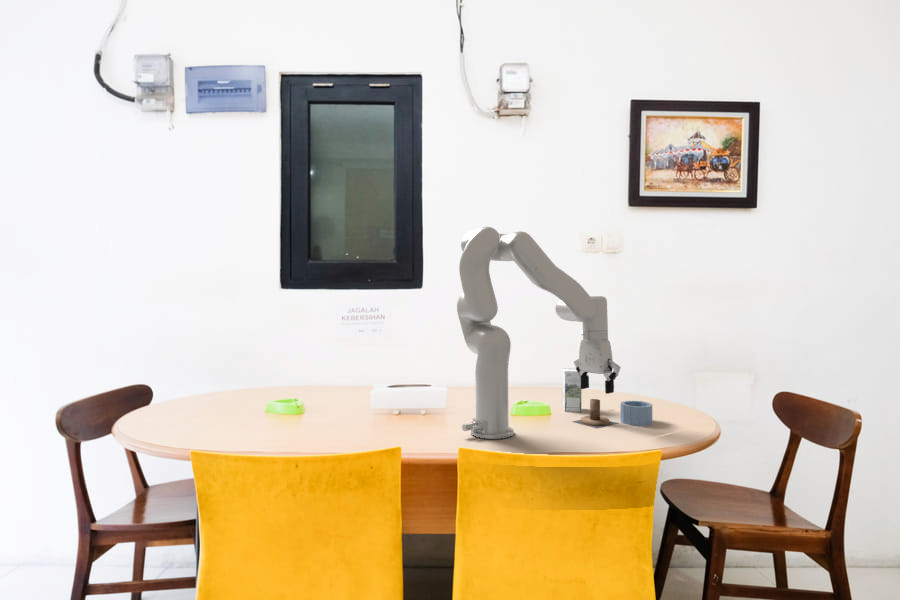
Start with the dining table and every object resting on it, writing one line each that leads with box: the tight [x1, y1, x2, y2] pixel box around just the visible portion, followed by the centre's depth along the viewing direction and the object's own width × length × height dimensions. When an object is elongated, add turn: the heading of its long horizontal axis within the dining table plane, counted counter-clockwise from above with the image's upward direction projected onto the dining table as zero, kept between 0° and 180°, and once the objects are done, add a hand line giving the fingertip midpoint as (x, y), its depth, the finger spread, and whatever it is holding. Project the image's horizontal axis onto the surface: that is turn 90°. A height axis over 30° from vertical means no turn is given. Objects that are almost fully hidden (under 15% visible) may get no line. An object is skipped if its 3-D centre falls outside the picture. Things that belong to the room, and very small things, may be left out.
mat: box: [571, 419, 619, 429], centre depth 165 cm, size 10×10×1 cm
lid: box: [580, 398, 611, 426], centre depth 165 cm, size 9×9×7 cm
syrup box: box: [562, 367, 582, 413], centre depth 182 cm, size 6×6×14 cm
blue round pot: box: [620, 400, 653, 427], centre depth 165 cm, size 9×9×6 cm
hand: (597, 390), depth 165 cm, fingers open, 9 cm apart
